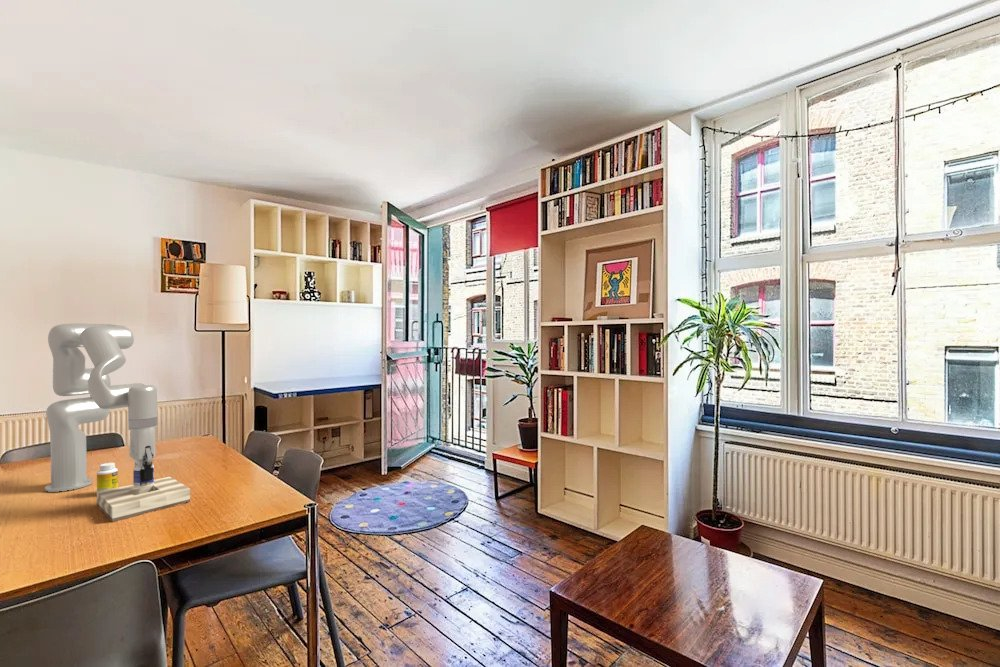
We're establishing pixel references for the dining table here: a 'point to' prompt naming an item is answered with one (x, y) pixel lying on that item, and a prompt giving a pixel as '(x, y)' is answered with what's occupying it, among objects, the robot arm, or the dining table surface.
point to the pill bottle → (136, 477)
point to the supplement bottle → (107, 477)
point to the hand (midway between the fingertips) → (143, 478)
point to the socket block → (142, 498)
